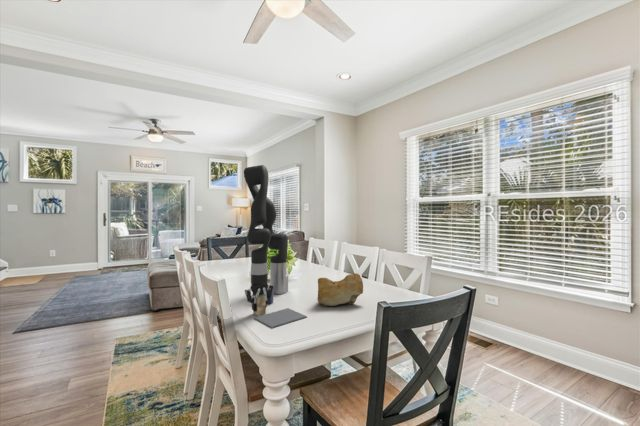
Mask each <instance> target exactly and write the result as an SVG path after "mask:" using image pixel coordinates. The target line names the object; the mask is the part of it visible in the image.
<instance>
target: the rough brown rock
mask: <svg viewBox="0 0 640 426" xmlns="http://www.w3.org/2000/svg"><path fill="white" fill-rule="evenodd" d="M363 293H364V283H363V279H362V277H361V275H360V274H359V273H351V274H347V275H346V276H345V277H344V278H343V279H340V280H337V281H334V280H331V279H330V278H327V277H318V278H317V302H318V304H321V305H323V306H325V307H326V306H328V307H333V306H334V307H335V306H338V305H344V304H350V305H353V304H355V303H356V302H357V298H358V297H359V296H360V295H362V294H363Z"/></svg>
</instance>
